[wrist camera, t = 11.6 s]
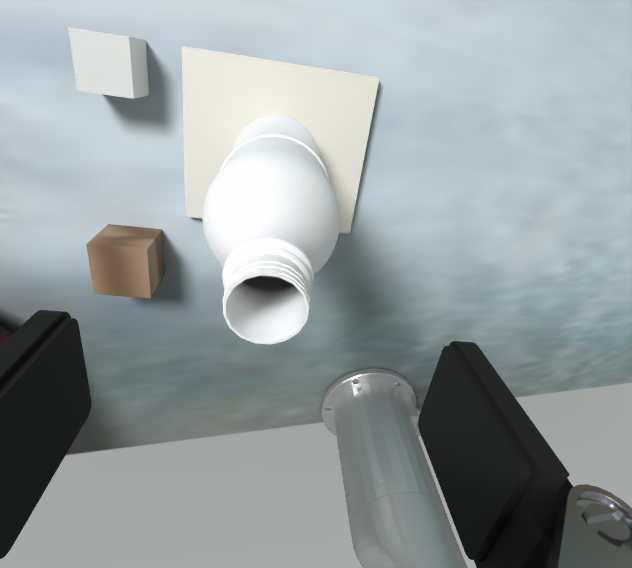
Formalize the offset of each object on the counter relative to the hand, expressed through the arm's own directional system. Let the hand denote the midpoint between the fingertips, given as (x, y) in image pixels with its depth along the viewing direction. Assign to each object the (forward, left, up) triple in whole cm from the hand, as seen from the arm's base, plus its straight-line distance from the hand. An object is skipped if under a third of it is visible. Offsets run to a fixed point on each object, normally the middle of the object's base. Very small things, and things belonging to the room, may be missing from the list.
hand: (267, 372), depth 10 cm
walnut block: (+13, +11, -30) cm, 34 cm away
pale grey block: (+13, -5, -30) cm, 33 cm away
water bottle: (0, 0, -29) cm, 29 cm away
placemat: (0, 0, -30) cm, 30 cm away
